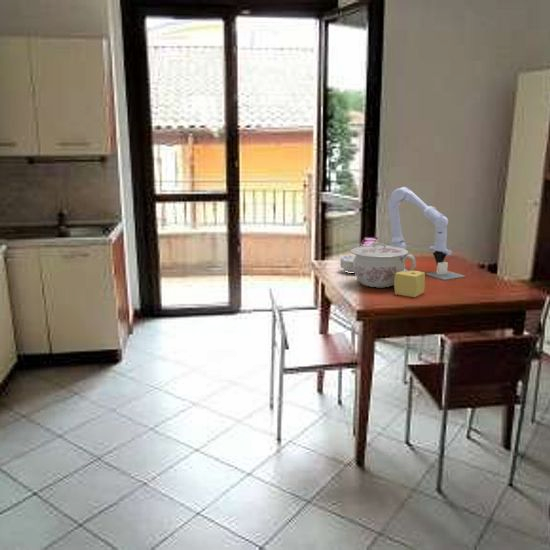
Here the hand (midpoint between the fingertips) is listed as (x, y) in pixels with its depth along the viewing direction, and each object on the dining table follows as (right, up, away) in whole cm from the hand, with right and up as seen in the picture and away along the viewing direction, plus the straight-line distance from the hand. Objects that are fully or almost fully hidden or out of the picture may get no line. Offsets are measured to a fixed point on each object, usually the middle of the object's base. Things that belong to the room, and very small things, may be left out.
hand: (439, 266), depth 283 cm
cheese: (-23, -13, -33) cm, 42 cm away
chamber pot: (-34, -9, -16) cm, 39 cm away
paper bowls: (-42, -3, +9) cm, 43 cm away
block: (+1, -4, -1) cm, 4 cm away
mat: (+3, -5, -2) cm, 6 cm away
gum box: (-31, +1, +28) cm, 42 cm away
